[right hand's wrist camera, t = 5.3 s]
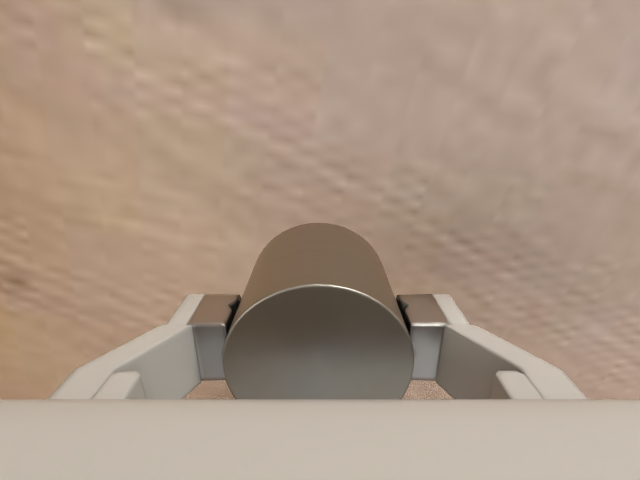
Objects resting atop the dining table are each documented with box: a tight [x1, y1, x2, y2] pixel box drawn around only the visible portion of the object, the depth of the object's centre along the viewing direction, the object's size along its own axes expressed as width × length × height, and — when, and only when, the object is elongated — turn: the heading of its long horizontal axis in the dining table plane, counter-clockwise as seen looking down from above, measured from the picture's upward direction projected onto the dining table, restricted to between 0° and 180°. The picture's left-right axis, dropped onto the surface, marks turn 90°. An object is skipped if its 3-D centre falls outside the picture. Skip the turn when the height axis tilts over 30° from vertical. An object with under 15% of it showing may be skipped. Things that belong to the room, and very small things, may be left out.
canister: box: [222, 223, 414, 399], centre depth 10 cm, size 5×5×4 cm
